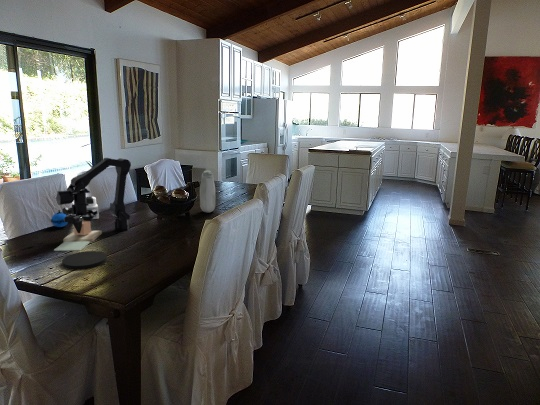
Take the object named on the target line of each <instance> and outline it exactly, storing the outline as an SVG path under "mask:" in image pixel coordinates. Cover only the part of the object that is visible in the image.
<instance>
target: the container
mask: <svg viewBox="0 0 540 405" xmlns="http://www.w3.org/2000/svg"><path fill="white" fill-rule="evenodd" d="M86 203H88V204H89V205H88V206H87V209H88V208H90V209H96V210H97V214H96V215H93V214H92V216H94V217H93V219H92V220H96V219H100V214H99V205H98V204H97V198H96V197H95V196H86Z"/></svg>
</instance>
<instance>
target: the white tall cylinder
mask: <svg viewBox="0 0 540 405" xmlns="http://www.w3.org/2000/svg"><path fill="white" fill-rule="evenodd" d="M215 185H216V184H215V179H214V173H213V172H212V171H211V170H210V169H209V170H206V169H205V170H204V171H202V173H201V181H200V185H199V207H200V209H201V211H203V212H204V213H211V212H213V211H214V210H215V208H216V186H215Z"/></svg>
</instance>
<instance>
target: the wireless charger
mask: <svg viewBox="0 0 540 405" xmlns="http://www.w3.org/2000/svg"><path fill="white" fill-rule="evenodd" d="M61 260H62V261H61V263H62V267H63V268H64V269H67V270H74V271H75V270H78V271H80V270H88V269H93V268H97V267H100V266H102V265H104V264H105V263H107V261H108V254H107V253H105V252H103V251H99V250H87V251H80V252H75V253H72V254H69V255H66V256H65V257H64V258H62V259H61Z"/></svg>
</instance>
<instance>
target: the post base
mask: <svg viewBox="0 0 540 405" xmlns="http://www.w3.org/2000/svg"><path fill="white" fill-rule="evenodd" d="M102 232H103V231H102V230H91V232H90V233H88V234H86V235H75V234H74V230H73V231H72V232H71V233H69V234H68V235H67V236H65V237H64V238H63V243H64V242H75V241H90V243H93V242H94V241H95V240H96V239H97V238H98V237H99V236H100V235H102V234H103V233H102Z"/></svg>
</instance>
